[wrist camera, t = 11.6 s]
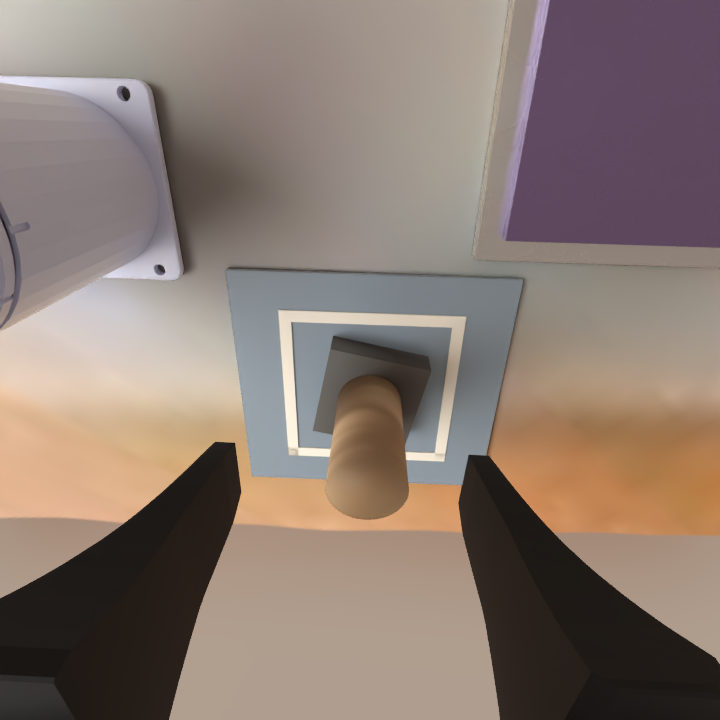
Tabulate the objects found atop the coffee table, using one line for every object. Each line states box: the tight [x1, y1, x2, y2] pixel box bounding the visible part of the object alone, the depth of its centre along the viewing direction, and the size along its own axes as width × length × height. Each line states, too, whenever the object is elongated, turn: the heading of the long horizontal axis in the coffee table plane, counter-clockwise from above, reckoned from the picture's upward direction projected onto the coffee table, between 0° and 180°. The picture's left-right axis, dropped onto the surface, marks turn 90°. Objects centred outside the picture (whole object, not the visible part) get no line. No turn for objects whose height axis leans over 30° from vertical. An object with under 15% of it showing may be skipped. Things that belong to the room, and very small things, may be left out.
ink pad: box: [472, 0, 720, 268], centre depth 16 cm, size 11×11×1 cm
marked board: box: [225, 268, 523, 485], centre depth 23 cm, size 14×13×1 cm
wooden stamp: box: [313, 336, 431, 520], centre depth 20 cm, size 5×5×8 cm
